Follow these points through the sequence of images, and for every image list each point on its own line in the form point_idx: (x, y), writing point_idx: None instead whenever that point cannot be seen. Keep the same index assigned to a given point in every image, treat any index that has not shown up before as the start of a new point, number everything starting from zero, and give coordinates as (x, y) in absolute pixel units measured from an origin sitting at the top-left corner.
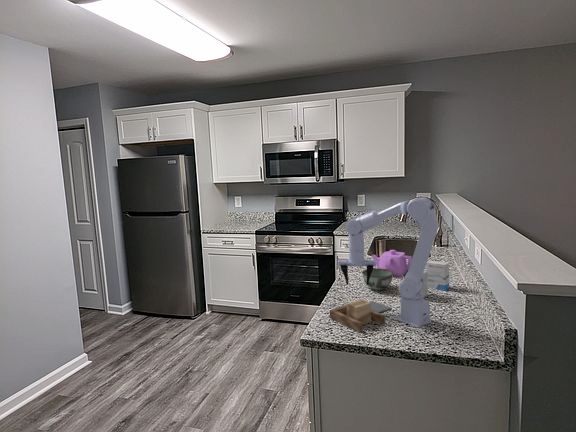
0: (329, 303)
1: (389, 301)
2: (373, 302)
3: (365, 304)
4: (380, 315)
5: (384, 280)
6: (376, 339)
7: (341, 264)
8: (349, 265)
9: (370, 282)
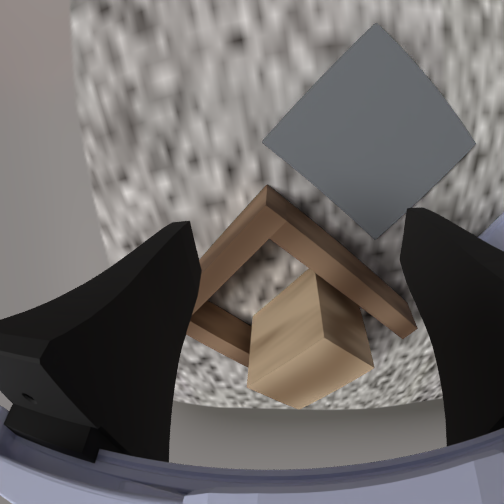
0: (96, 106)
1: (470, 19)
2: (387, 53)
3: (343, 384)
4: (400, 335)
5: None
6: (354, 388)
7: (37, 458)
8: (161, 477)
9: None
